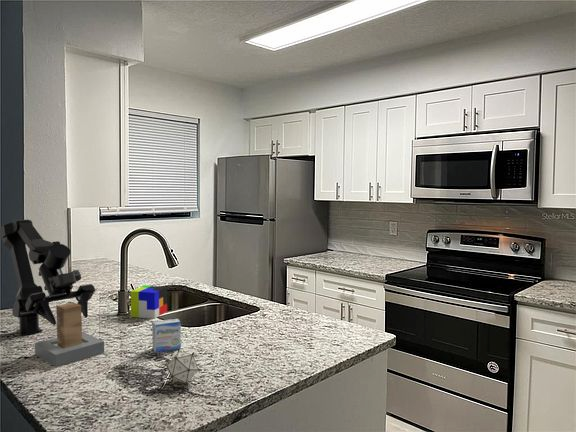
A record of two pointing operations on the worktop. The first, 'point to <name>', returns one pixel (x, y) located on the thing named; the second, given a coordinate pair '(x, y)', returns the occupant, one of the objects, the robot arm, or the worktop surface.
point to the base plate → (68, 350)
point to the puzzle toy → (148, 301)
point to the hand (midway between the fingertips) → (71, 320)
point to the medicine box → (166, 335)
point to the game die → (182, 367)
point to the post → (69, 325)
